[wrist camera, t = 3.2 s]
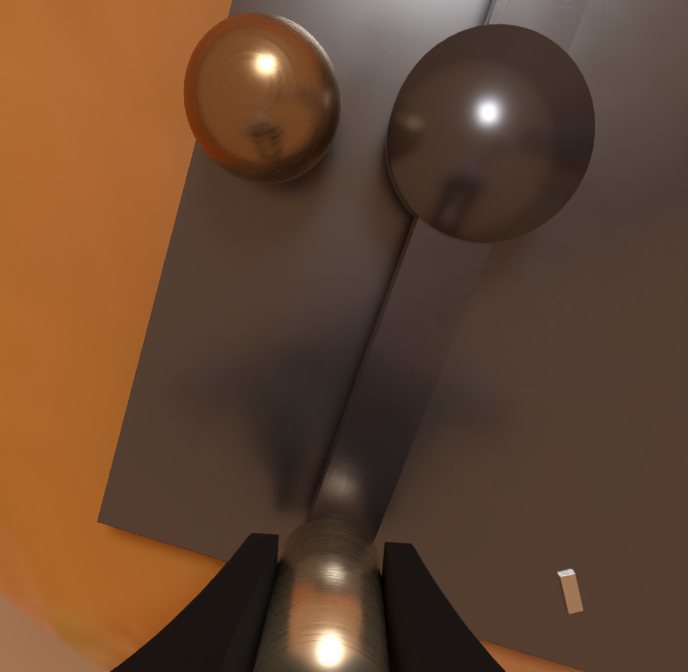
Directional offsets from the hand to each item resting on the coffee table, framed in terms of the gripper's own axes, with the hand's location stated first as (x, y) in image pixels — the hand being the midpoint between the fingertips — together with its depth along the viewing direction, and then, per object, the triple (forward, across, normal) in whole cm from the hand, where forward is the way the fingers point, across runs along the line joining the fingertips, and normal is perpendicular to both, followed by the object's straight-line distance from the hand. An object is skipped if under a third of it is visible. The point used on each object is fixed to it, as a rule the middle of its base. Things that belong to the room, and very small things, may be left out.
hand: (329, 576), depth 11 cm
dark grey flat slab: (+3, -4, -6) cm, 8 cm away
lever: (+1, -2, -7) cm, 7 cm away
